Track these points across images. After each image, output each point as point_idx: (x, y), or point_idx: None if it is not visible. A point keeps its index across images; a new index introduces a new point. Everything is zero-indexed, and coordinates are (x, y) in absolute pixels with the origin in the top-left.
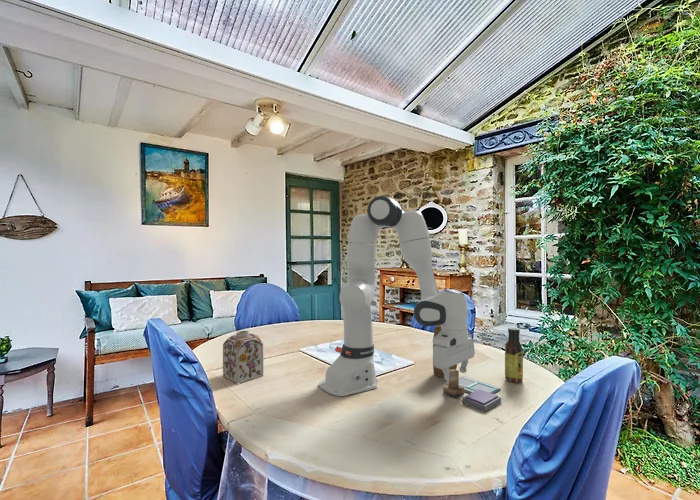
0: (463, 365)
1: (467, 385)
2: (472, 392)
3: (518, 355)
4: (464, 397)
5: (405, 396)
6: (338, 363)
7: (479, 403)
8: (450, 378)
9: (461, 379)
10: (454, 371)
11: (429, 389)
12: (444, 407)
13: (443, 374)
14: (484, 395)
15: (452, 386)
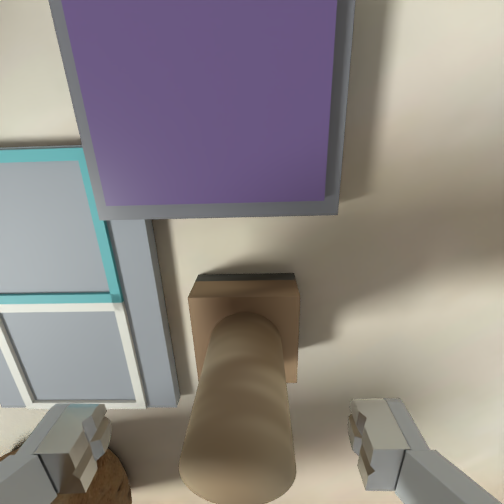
0: (23, 497)
1: (90, 321)
2: (149, 242)
3: None
4: (322, 206)
5: (470, 434)
6: None
7: (341, 44)
8: (362, 401)
9: (54, 386)
10: (236, 463)
11: (304, 415)
12: (469, 243)
13: (110, 468)
14: (177, 97)
15: (279, 344)
